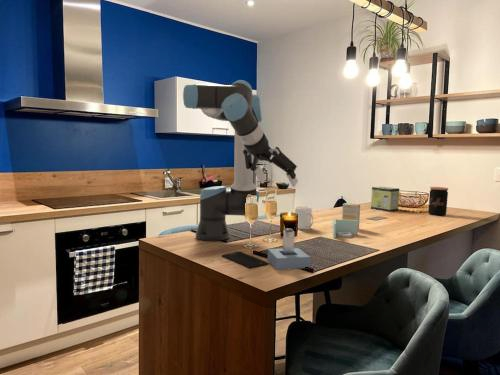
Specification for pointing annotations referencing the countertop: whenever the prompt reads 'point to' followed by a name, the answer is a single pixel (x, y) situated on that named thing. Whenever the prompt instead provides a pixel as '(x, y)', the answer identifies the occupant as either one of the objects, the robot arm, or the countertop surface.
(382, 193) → the protein box
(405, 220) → the countertop surface
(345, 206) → the supplement box
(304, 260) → the block
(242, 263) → the cell phone
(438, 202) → the coffee jar
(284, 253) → the shaft
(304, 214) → the mug
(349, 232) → the right angle wall
